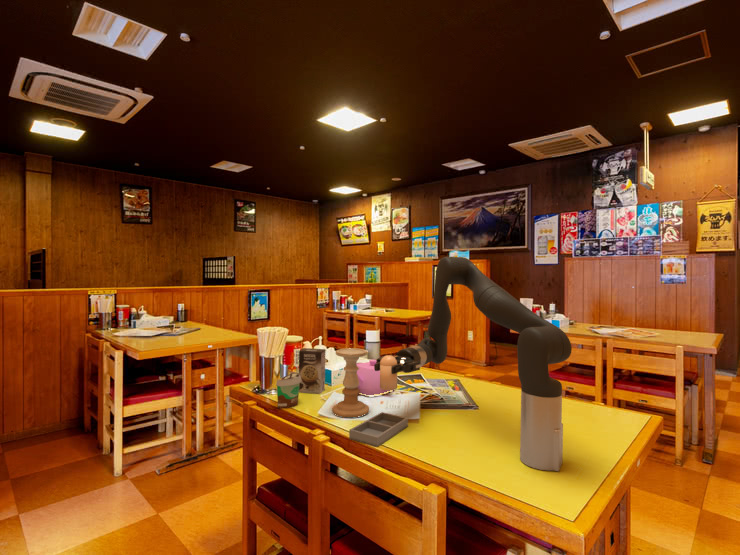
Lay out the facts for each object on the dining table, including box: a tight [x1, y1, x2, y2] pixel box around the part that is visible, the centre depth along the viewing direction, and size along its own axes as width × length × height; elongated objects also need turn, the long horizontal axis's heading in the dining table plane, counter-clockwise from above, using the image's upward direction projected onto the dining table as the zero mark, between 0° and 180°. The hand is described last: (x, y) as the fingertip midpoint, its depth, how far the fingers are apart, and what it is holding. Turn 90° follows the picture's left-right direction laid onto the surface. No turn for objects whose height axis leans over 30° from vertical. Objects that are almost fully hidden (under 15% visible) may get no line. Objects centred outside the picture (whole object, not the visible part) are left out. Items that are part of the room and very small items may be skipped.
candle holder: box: [331, 347, 370, 418], centre depth 131 cm, size 12×12×20 cm
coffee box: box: [298, 347, 327, 395], centre depth 154 cm, size 9×6×16 cm
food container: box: [275, 371, 302, 409], centre depth 138 cm, size 12×6×10 cm, turn 168°
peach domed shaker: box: [380, 354, 398, 390], centre depth 118 cm, size 5×5×10 cm
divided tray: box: [348, 411, 409, 448], centre depth 115 cm, size 9×17×2 cm, turn 147°
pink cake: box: [356, 358, 390, 395], centre depth 155 cm, size 17×17×12 cm
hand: (384, 368), depth 116 cm, fingers closed on peach domed shaker, 5 cm apart
